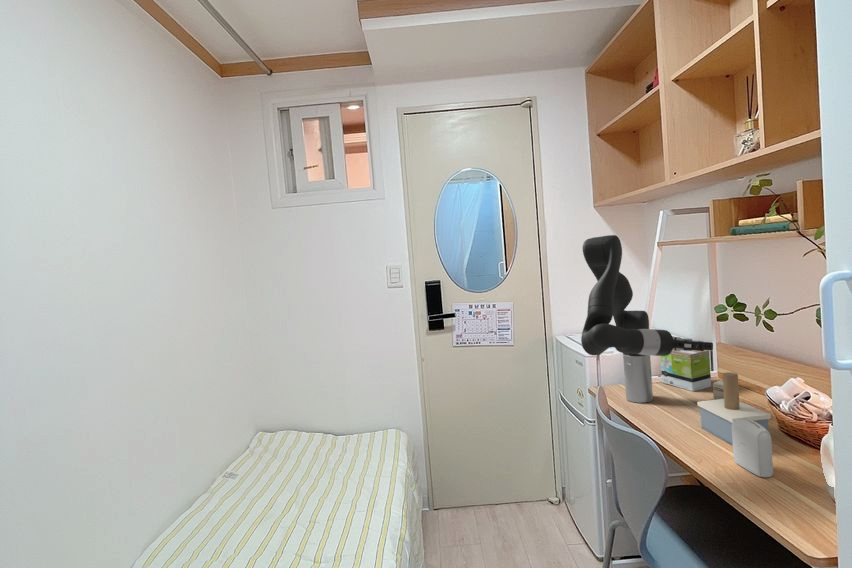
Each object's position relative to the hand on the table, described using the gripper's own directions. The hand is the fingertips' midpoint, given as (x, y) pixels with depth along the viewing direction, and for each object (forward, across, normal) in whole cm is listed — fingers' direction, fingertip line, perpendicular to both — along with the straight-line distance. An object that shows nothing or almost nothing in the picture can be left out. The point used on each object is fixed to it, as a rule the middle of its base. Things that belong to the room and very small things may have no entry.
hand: (701, 344), depth 145 cm
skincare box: (+22, +15, +23) cm, 36 cm away
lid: (+10, -1, +19) cm, 22 cm away
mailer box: (+11, -1, +26) cm, 28 cm away
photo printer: (0, -20, +29) cm, 36 cm away
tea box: (+32, +46, +19) cm, 59 cm away
